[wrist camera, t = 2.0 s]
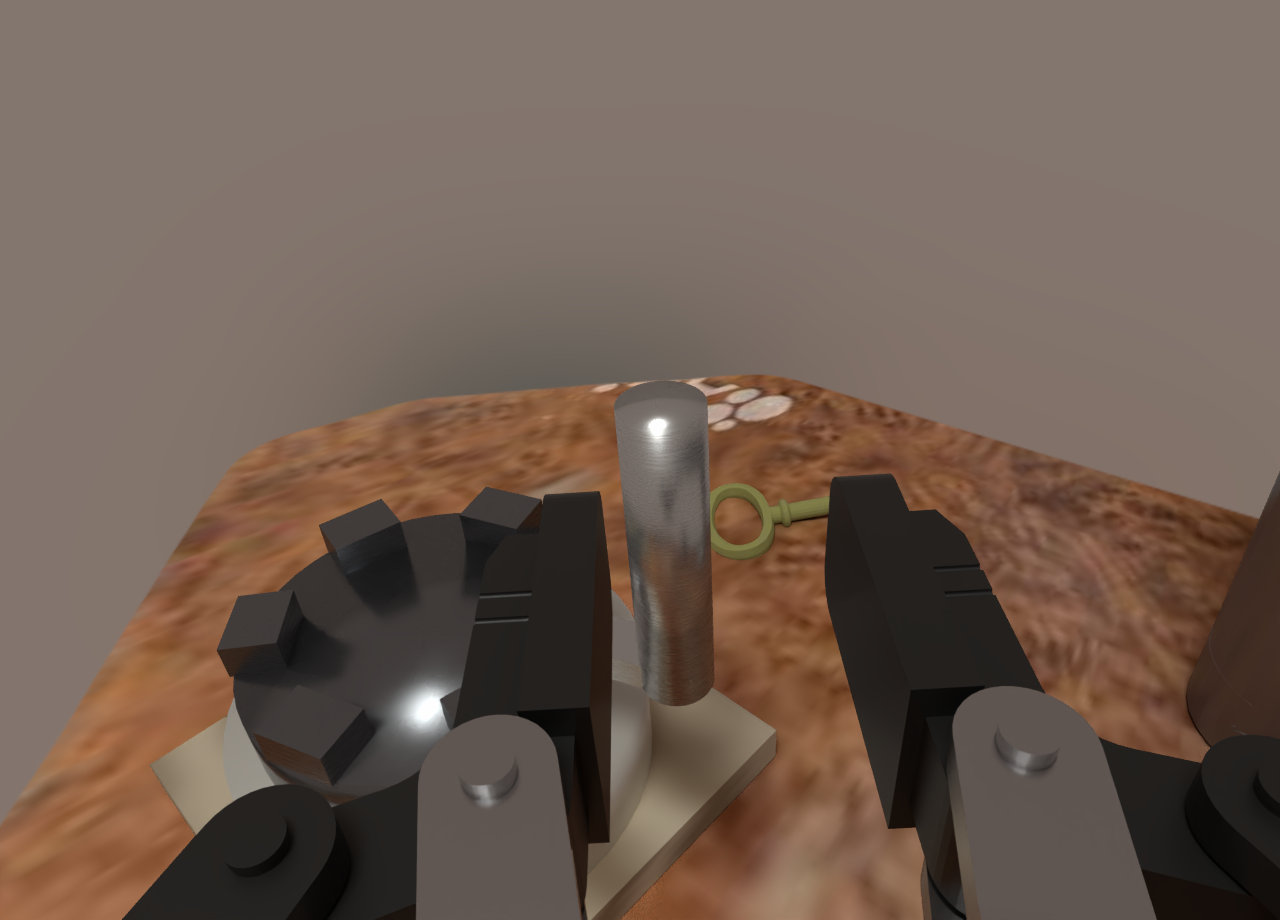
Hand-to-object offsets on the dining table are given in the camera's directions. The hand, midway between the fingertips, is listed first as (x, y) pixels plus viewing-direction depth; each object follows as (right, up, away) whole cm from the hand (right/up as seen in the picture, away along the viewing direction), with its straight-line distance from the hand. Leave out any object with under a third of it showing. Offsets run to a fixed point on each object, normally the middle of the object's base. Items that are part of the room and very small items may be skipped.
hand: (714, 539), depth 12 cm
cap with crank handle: (-9, -9, +27) cm, 30 cm away
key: (+9, -3, +48) cm, 49 cm away
